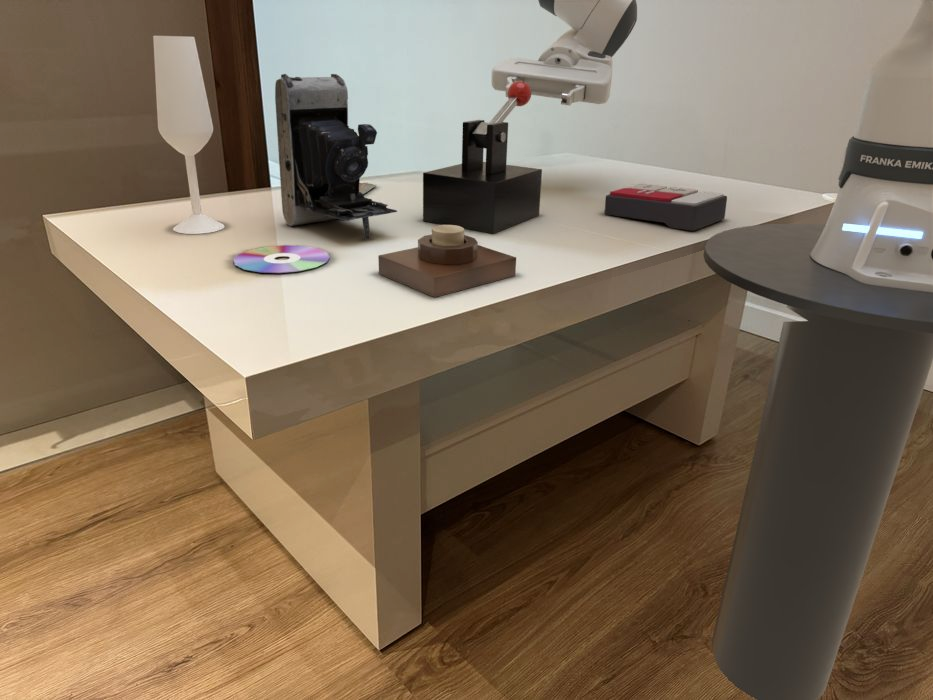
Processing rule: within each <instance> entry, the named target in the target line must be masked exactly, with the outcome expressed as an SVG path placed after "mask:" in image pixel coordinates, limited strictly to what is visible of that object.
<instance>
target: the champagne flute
mask: <svg viewBox="0 0 933 700" xmlns="http://www.w3.org/2000/svg"><path fill="white" fill-rule="evenodd" d="M152 40H153V60H154V77H155V95H156V97H155V99H156V116H157V117H156V118H157V130H158V132H159V134H160V136H161V137H162V138H163V140H164V141H165V142H166V143H167V144H168V145H169V146H171V148H173V149H174V150H175V151H177V152H178V153H180V154H182V156H183V155H184V159H185V167H186V174H187V175H186V176H187V182H188V183H187V184H188V190H189V197H190V205H191V211H192V214H190V215H189V216H188V217H186V218H185V219H184V220H182V221H180V223H178V224H177V225H175V226H174V227H173V229H172V230H173V231H174V232H176V233H179V234H184V235H185V234H187V235H200V234H210V233H214V232H219V231H221V230H224V228H225V224H223V223H221V222H219V221H217V220H216V219H213V218H212V217H210V216H208V215H205V214H204V213H203V212H202V204H201V195H200V189H199V182H198V181H199V179H198V172H197V167H196V166H197V165H196V157H195V155H196V154H198V153H199V152H201V150H203V148H205V146H206V145H207V144H208V142H209V141H210V139H211V137H212V136H213V133H214V124H213V120H212V114H211V110H210V106H209V105H210V104H209V101H208V96H207V91H206V86H205V81H204V77H203V71H202V66H201V62H200V58H199V57H200V56H199V52H198V48H197V44H196V38H195V36H183V35H181V36H179V35H153V36H152Z"/></svg>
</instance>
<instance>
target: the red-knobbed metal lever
mask: <svg viewBox="0 0 933 700" xmlns="http://www.w3.org/2000/svg"><path fill="white" fill-rule="evenodd" d="M531 98H532V95H531V89H530V87H529V85H528V84H527V83H525V82H523V81H517V82H514V83H513V84H512V85H511V86H510V87H509V89H508V97H507V101H506V102H504V104H503V106H502V107H500V109H499V110H498V112H496V114H495V115H494V116H493V118H492V119H491V120H490V121H489V122H486V121H484V122H481V123H480V125H479V126H478V127H477V128H476V129H475V131H474V132H473V137H474V141H475V145H476V147H477V148H484V149H486V143H487V125H488V124H494V123H500V122H505V120H506V119H507V117H508V116H509V115H510V114H511V112H513V110H514V109H515V107H523V106H525V105H527V104H528V103H530V100H531Z"/></svg>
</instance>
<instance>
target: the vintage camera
mask: <svg viewBox="0 0 933 700" xmlns="http://www.w3.org/2000/svg"><path fill="white" fill-rule="evenodd" d="M274 86H275V87H274V97H275V98H274V102H275V117H276V134H277V148H278V149H277V150H278V165H279V179H280V196H281V197H280V198H281V210H282V216H283V219H284V221H285V223H286V225H288V226H289V227H293V226H301V225H307V224H314V223H319V222H326V221H332V220H341V221H343V222H349V221H353V220H358V219H361V220H362V228H363V229H362V230H363V233H364V235H363V236H364V240H365V241H368V240H371V233H370V232H371V231H370V221H369V218H371V217H376V216H381V215H382V216H383V215H388V214H394V213H398V210H397V209H393V208H389V207H388V206H389V204H387V203H382V202H380V201H375V200H373V199H372V198H368V197H365V195H364V194H362V193H361V192H359V183H361V182H360V180H361V177H362V176H364V174H365V173H366V170H367V168H368V166H369V160H368V155H369V149H368V145H374V144H375V142H376V139H377V134H378V131H377V129H376V128H375V127H374V126H373V125H371V124H370V123H369V124H368V123H361V124H357V132H356V131H355V129H354V128H350V127H349V106H348V105H349V102H348V99H349V96H348V95H349V94H348V86H347V84H346V82H345V79H343V78H342V77H341V76H340V75H339V74H337V73H330V76H311V77H310V76H309V77H308V76H307V77H306V76H305V77H301V76H295V77H292V76H289V75H288V74H286V73H283V74H281V76H280V78H278V79H276V80H275V85H274Z"/></svg>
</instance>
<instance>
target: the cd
mask: <svg viewBox="0 0 933 700" xmlns="http://www.w3.org/2000/svg"><path fill="white" fill-rule="evenodd" d="M280 257H281V258H282V257H283V258H287V259H276V258H280ZM330 259H331V256H330V255H329V253H328V252H327V251H326V250H323V249H320V248H318V247H313V246H312V247H311V246H306V245H291V244H290V245H287V244H283V245H271V246H264V247H263V246H262V247H257V248H254V249H249V250H246V251H244V252H241V253H239V254H237V255H236V256H235V257H234V258H233V260H232V261H233V264H234V266H236V267H237V268H240V269H242V270H244V271H249V272H256V273H264V274H265V273H266V274H269V273H270V274H285V273H295V272H296V273H297V272H302V271H307V270H311V269H316V268H318V267H320V266H322V265H324V264H326V263H328V261H329V260H330Z"/></svg>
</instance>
